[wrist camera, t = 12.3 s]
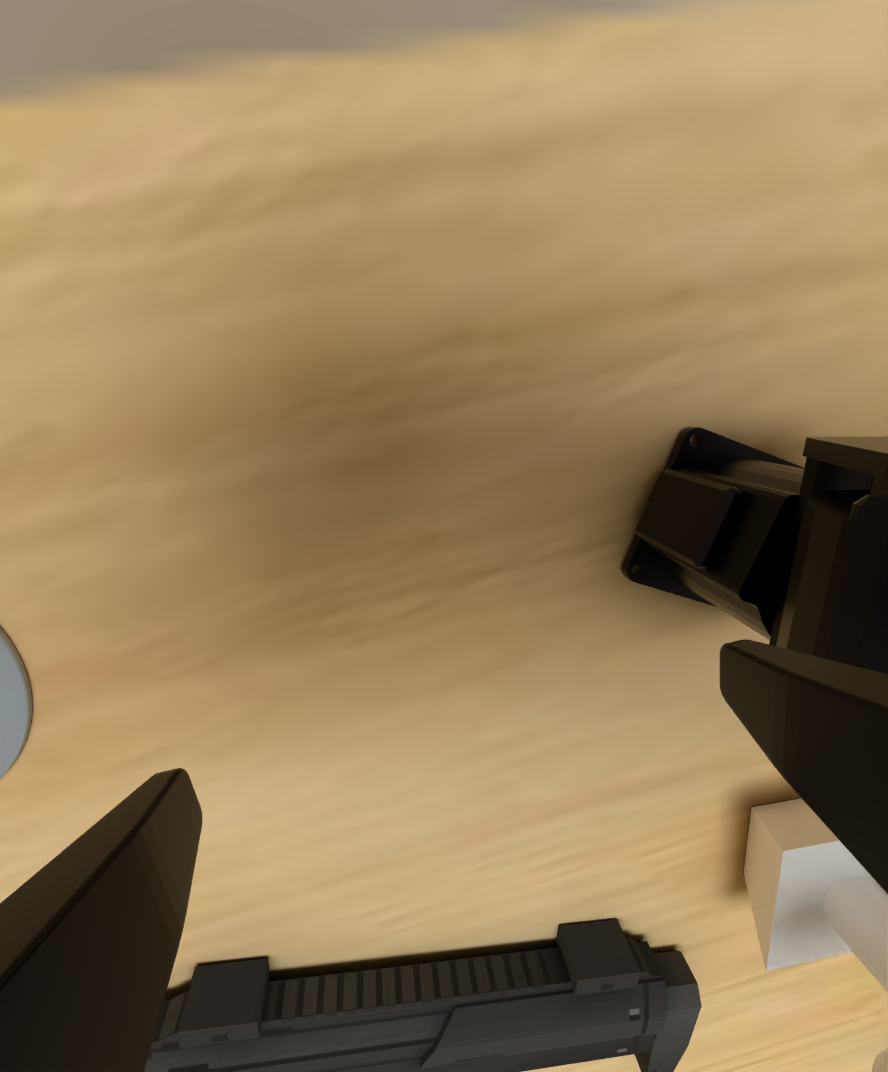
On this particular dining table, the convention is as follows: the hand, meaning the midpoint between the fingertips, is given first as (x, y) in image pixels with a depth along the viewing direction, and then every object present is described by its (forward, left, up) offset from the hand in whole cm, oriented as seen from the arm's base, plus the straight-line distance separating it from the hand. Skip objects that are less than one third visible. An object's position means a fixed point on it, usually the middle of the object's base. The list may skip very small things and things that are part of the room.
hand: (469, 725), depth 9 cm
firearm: (-9, +30, -13) cm, 34 cm away
